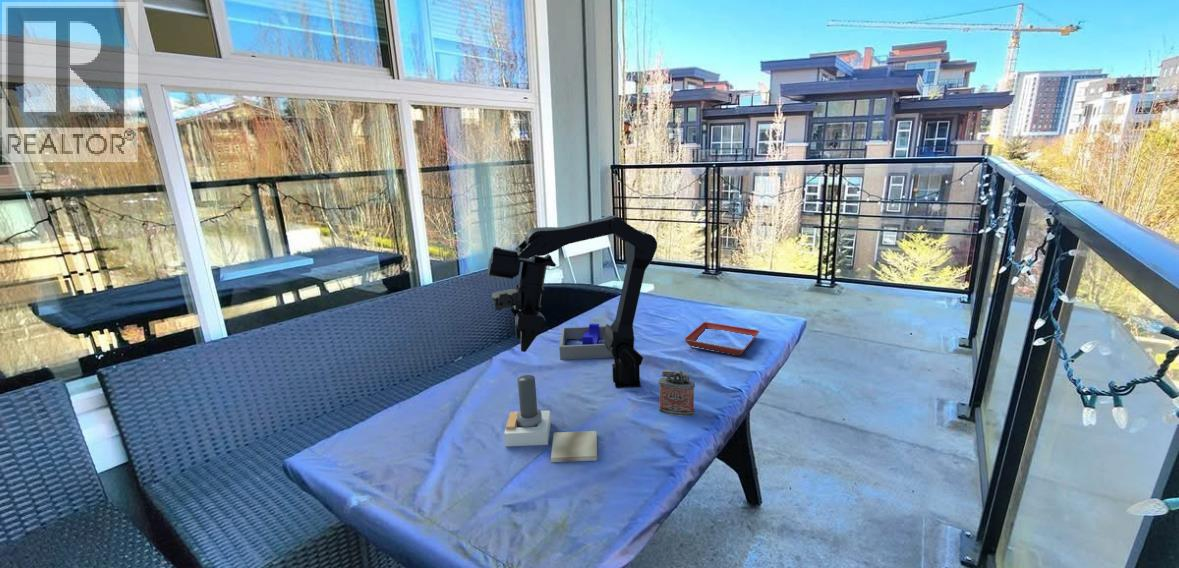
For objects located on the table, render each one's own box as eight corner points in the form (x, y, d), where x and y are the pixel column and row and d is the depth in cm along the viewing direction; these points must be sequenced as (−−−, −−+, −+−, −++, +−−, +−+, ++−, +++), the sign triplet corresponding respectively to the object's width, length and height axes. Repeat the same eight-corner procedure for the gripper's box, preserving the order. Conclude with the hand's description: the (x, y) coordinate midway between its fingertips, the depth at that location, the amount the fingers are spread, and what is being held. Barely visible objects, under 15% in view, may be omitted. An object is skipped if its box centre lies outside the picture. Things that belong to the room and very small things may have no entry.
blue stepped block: (586, 341, 160) (585, 323, 158) (599, 341, 159) (599, 323, 157) (578, 355, 148) (577, 336, 147) (593, 356, 147) (592, 337, 146)
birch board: (596, 435, 105) (596, 430, 105) (597, 460, 97) (597, 455, 96) (554, 436, 105) (553, 432, 105) (551, 462, 97) (550, 457, 96)
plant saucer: (759, 339, 155) (760, 329, 154) (743, 360, 140) (743, 349, 139) (703, 331, 164) (704, 321, 164) (683, 349, 150) (683, 339, 149)
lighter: (695, 410, 114) (695, 370, 111) (693, 417, 111) (693, 376, 108) (660, 405, 116) (660, 366, 114) (657, 413, 113) (657, 372, 111)
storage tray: (613, 337, 161) (613, 325, 160) (616, 357, 145) (616, 344, 144) (562, 339, 161) (562, 327, 160) (560, 359, 145) (559, 346, 144)
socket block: (550, 422, 111) (549, 407, 110) (547, 444, 103) (546, 428, 102) (511, 424, 111) (510, 409, 110) (505, 446, 103) (503, 430, 102)
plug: (543, 427, 109) (539, 372, 106) (541, 440, 104) (537, 383, 101) (520, 428, 109) (515, 373, 106) (517, 441, 104) (512, 384, 101)
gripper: (494, 268, 123) (484, 328, 126) (500, 287, 105) (489, 356, 108) (538, 275, 126) (527, 333, 129) (551, 293, 108) (539, 360, 111)
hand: (520, 344), depth 119 cm, fingers open, 9 cm apart
